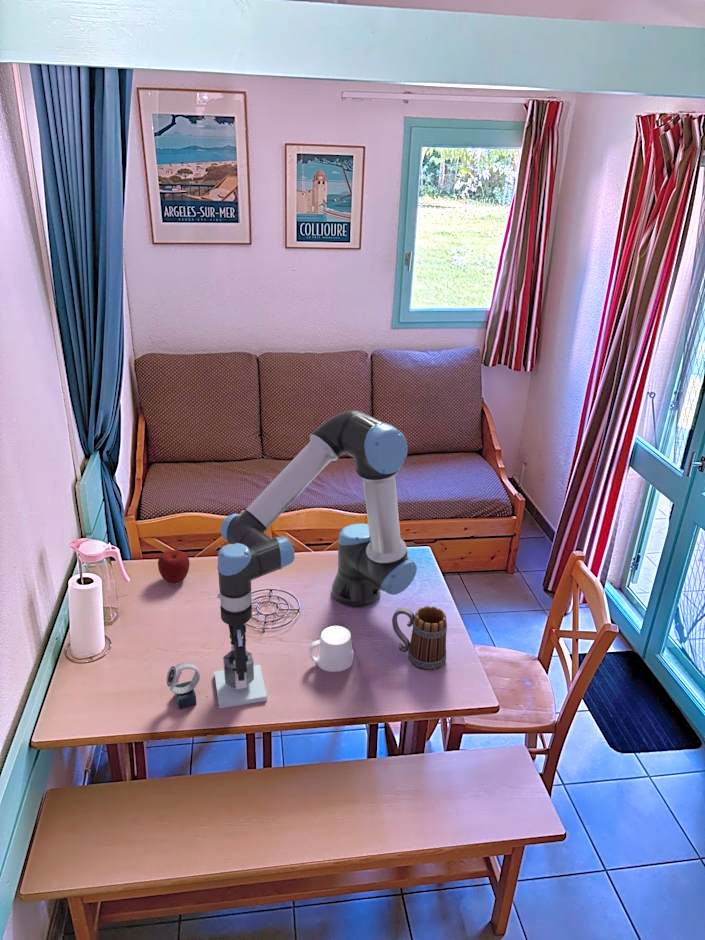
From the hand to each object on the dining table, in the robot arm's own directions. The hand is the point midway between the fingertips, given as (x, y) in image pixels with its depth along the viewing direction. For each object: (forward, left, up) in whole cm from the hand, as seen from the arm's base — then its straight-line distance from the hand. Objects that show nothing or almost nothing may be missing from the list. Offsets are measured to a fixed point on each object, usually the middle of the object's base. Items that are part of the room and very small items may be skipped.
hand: (239, 676), depth 186 cm
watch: (+14, +1, -4) cm, 15 cm away
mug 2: (-49, -1, -4) cm, 49 cm away
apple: (+14, -52, -4) cm, 54 cm away
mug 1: (-25, -4, -4) cm, 26 cm away
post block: (0, 0, -4) cm, 4 cm away
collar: (0, 0, 0) cm, 0 cm away
